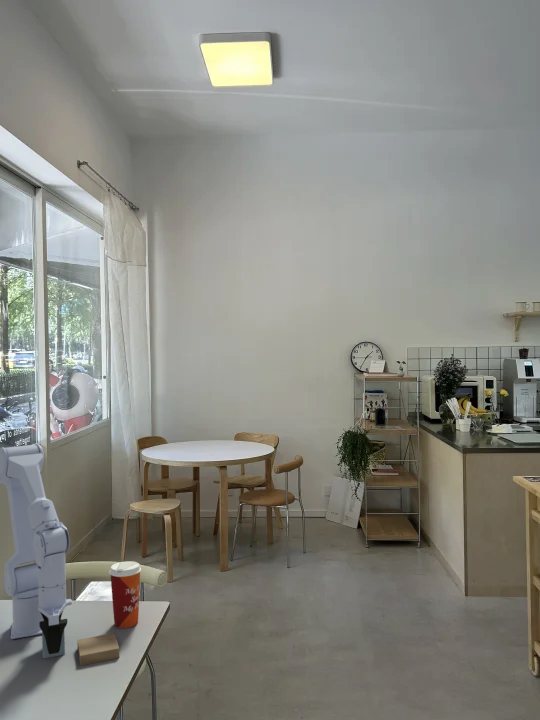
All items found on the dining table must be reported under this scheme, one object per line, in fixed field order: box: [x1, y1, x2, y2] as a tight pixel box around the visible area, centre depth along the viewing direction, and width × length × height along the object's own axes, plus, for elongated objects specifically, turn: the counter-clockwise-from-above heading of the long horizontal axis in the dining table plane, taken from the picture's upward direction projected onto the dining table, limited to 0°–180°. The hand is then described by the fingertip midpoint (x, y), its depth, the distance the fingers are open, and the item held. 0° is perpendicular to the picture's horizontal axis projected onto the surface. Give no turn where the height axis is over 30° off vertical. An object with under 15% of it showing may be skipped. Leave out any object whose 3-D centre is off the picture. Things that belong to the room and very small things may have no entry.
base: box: [77, 632, 120, 666], centre depth 128 cm, size 8×8×2 cm
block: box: [41, 631, 66, 659], centre depth 130 cm, size 4×4×6 cm
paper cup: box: [108, 560, 142, 629], centre depth 143 cm, size 8×8×14 cm
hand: (53, 645), depth 130 cm, fingers open, 7 cm apart
